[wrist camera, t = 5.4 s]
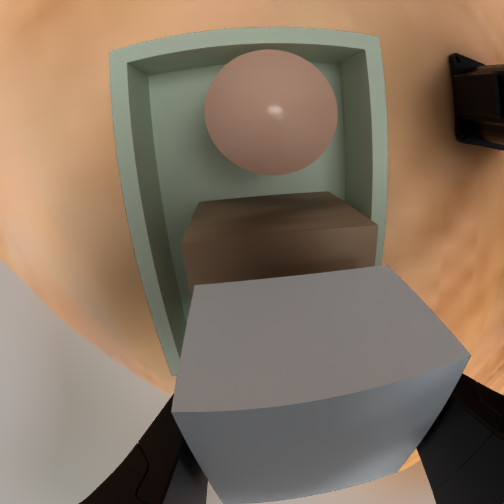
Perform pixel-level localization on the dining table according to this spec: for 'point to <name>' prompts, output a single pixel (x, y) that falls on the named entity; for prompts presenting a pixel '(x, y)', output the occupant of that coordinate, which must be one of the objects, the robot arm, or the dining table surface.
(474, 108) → the robot arm
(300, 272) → the walnut block
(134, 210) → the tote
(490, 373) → the dining table surface
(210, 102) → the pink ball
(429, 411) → the gray block
